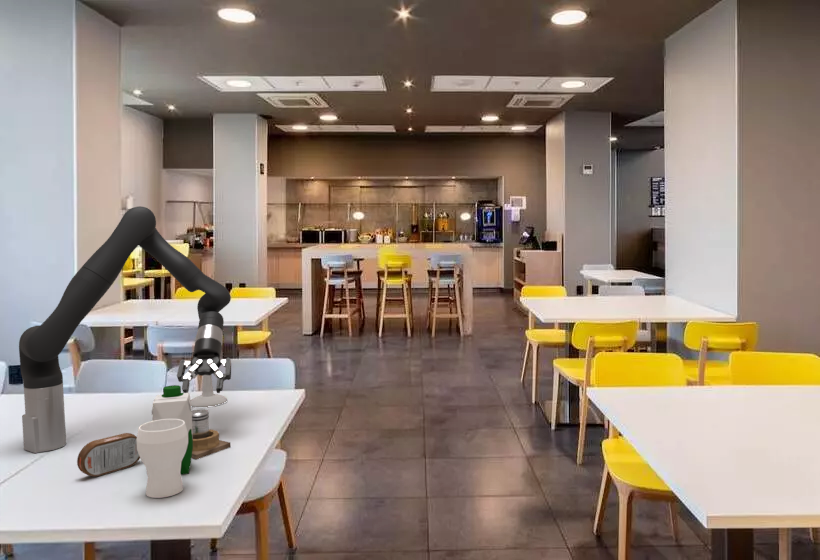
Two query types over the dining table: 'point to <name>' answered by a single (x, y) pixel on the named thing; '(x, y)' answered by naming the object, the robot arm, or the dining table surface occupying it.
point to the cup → (163, 455)
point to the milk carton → (176, 416)
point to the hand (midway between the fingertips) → (202, 392)
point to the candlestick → (207, 395)
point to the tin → (108, 455)
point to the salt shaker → (200, 423)
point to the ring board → (208, 445)
